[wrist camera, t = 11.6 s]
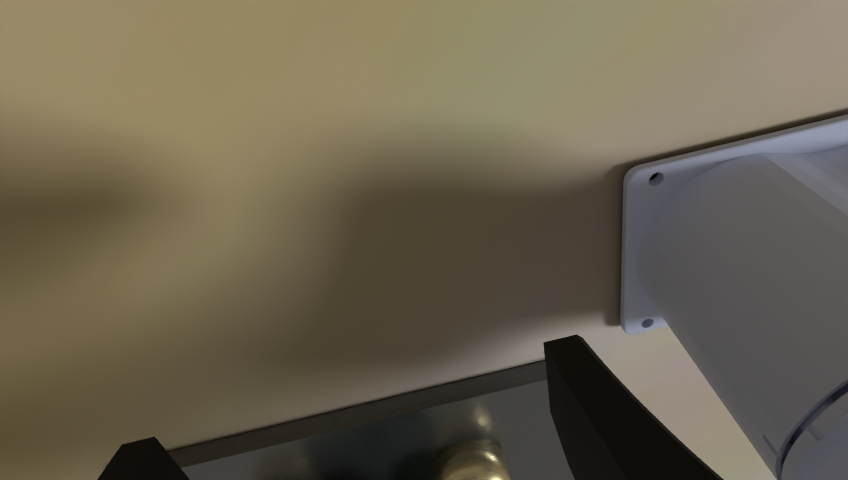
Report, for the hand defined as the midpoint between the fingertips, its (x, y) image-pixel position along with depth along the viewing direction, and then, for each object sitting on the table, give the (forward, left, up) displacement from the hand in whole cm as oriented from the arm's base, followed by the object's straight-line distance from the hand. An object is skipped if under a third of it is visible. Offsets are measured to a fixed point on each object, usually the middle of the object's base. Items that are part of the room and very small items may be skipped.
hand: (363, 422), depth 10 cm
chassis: (+3, +19, -9) cm, 21 cm away
